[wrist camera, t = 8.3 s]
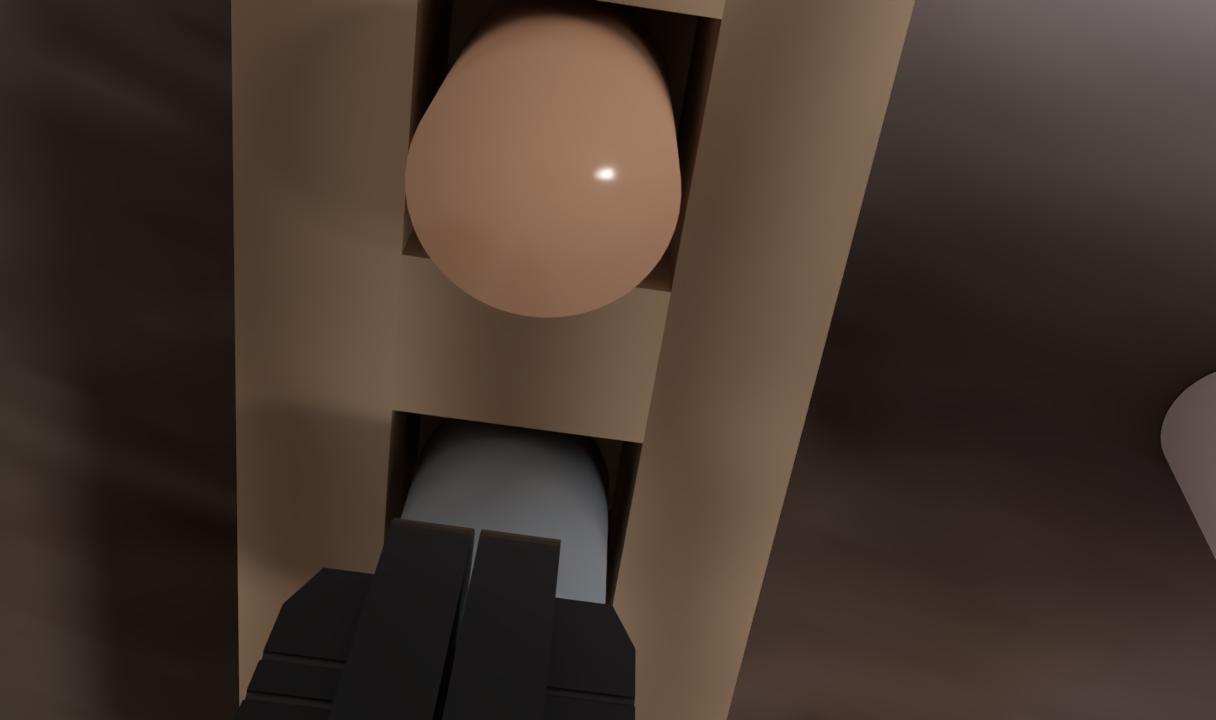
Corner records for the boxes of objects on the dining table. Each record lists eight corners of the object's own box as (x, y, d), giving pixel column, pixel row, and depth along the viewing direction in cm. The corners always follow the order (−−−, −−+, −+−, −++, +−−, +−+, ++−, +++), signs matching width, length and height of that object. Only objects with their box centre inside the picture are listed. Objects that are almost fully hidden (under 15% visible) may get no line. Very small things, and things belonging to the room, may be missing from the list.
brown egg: (688, 3, 23) (704, 77, 18) (652, 213, 25) (656, 333, 20) (464, -31, 23) (413, 33, 18) (447, 184, 25) (397, 298, 20)
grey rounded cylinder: (622, 413, 26) (619, 580, 21) (595, 571, 28) (586, 758, 23) (423, 387, 26) (369, 548, 21) (410, 547, 28) (359, 731, 23)
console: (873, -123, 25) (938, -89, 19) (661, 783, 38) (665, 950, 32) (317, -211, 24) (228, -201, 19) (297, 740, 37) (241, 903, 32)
